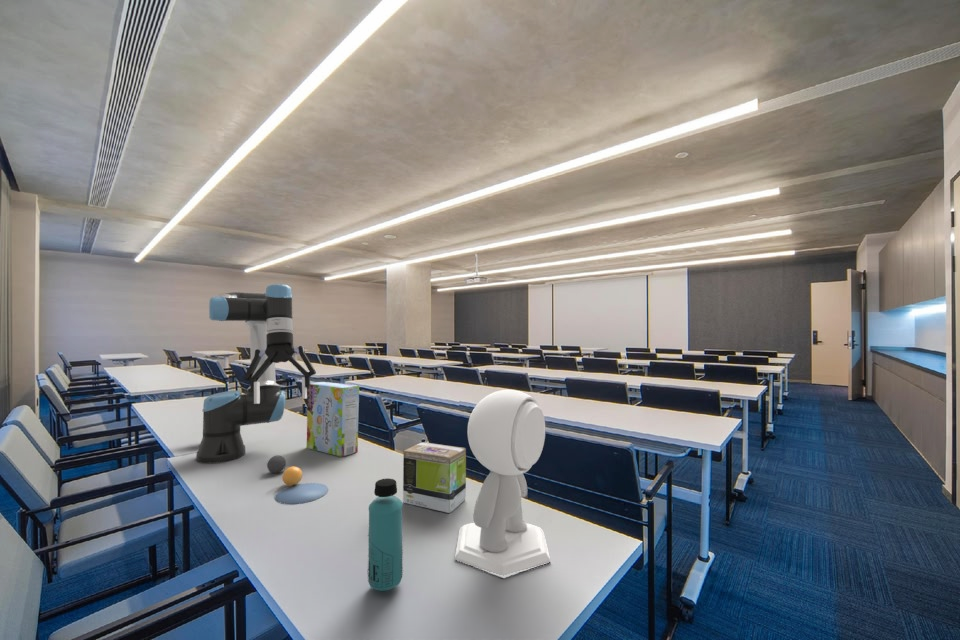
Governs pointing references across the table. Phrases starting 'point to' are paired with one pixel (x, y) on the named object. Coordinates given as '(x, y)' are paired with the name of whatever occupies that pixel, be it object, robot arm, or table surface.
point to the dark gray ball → (276, 464)
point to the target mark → (301, 493)
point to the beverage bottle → (385, 537)
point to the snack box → (333, 418)
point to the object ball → (292, 476)
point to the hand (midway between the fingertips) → (281, 401)
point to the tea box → (434, 476)
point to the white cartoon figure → (504, 484)
